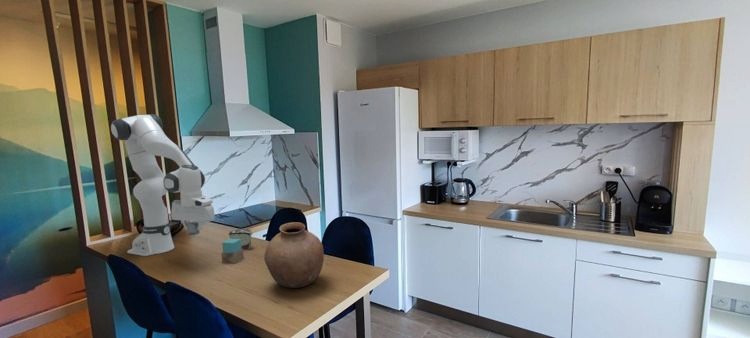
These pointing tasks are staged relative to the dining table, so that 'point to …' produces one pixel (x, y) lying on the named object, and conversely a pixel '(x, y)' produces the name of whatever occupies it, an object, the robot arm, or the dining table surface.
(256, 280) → the dining table surface
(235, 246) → the teal middle block
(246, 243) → the food container
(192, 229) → the metal cylinder
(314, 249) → the pottery
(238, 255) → the walnut base block
